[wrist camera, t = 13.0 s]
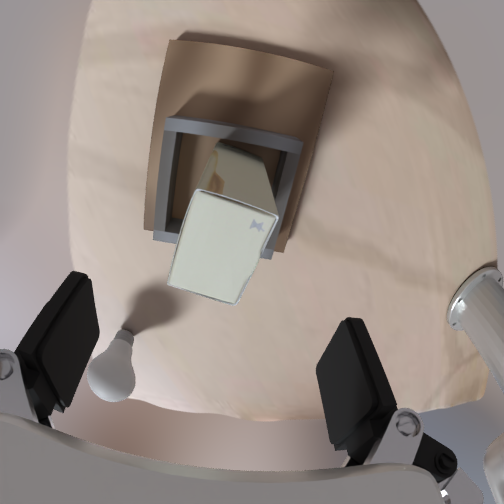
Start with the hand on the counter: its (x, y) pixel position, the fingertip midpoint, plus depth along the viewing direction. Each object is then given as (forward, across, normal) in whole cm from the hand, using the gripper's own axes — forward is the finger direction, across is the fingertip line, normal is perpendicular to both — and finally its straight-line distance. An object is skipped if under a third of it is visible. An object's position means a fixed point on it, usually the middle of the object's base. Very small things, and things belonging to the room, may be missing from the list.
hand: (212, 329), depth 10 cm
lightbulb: (+19, +11, +23) cm, 32 cm away
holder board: (+19, +1, -3) cm, 19 cm away
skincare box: (+18, 0, 0) cm, 18 cm away
